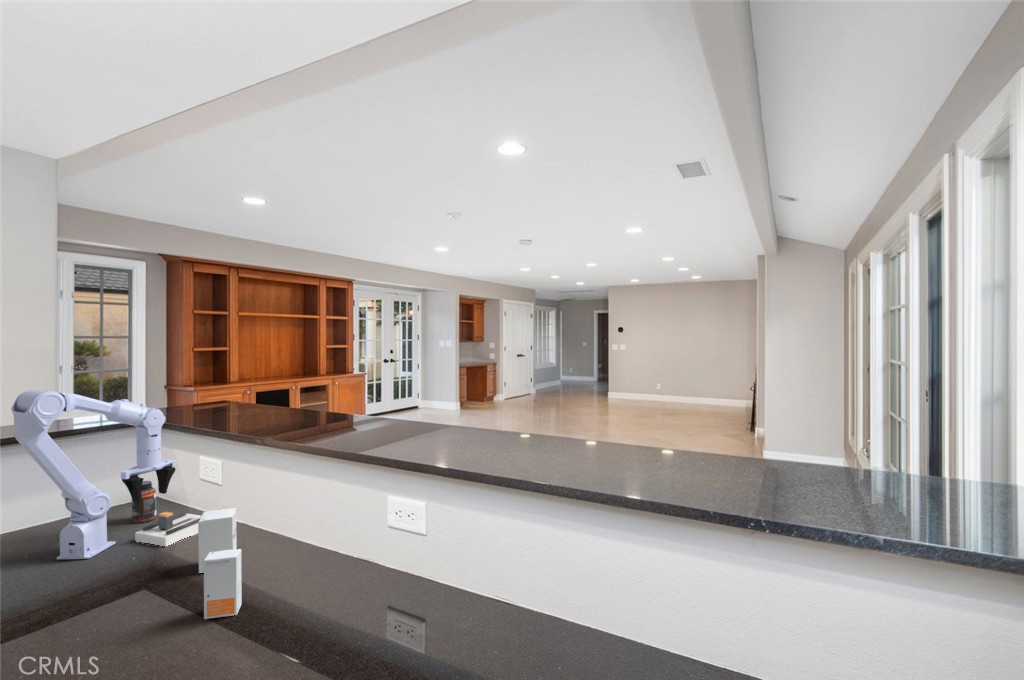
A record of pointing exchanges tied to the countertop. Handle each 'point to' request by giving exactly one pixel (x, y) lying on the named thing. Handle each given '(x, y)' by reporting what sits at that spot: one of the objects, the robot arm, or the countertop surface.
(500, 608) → the countertop surface
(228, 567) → the skincare box
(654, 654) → the countertop surface
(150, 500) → the supplement bottle
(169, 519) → the handle
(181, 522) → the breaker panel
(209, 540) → the supplement box
